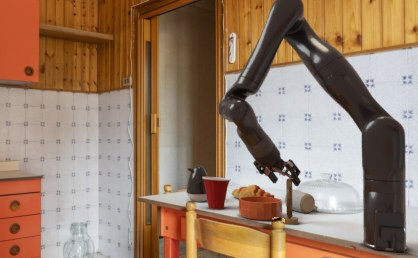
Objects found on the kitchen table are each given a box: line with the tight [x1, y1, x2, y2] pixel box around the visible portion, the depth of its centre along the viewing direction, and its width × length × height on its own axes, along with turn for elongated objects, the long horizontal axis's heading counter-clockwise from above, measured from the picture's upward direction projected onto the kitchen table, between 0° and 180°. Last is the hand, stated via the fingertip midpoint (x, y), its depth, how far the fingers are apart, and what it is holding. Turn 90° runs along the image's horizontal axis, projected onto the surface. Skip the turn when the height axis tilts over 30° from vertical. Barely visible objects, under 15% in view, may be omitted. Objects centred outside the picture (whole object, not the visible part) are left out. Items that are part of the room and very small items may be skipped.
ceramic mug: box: [284, 188, 318, 214], centre depth 148 cm, size 11×8×8 cm
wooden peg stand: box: [280, 177, 299, 226], centre depth 130 cm, size 5×5×14 cm
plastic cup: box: [203, 176, 231, 210], centre depth 156 cm, size 11×11×12 cm
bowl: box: [238, 196, 283, 222], centre depth 139 cm, size 14×14×6 cm
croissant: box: [231, 184, 275, 200], centre depth 174 cm, size 21×10×8 cm, turn 40°
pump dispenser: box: [185, 165, 209, 203], centre depth 172 cm, size 10×10×15 cm
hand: (286, 182), depth 130 cm, fingers open, 8 cm apart
